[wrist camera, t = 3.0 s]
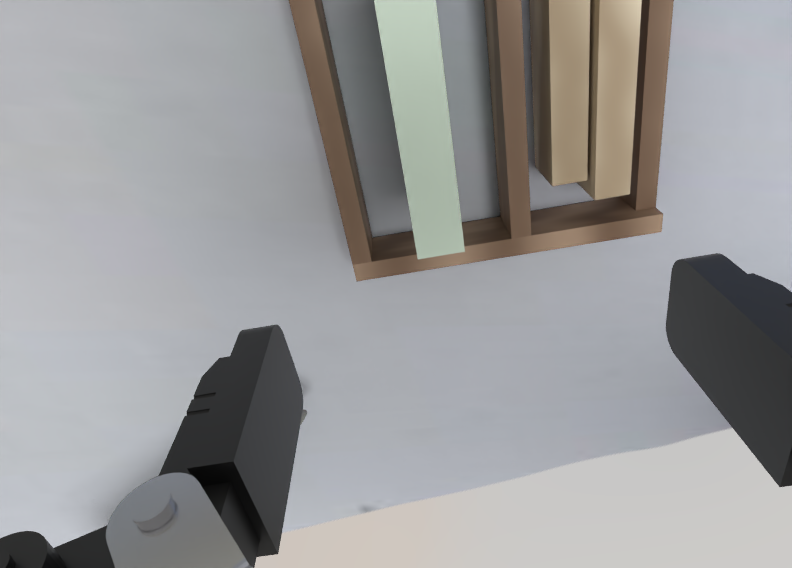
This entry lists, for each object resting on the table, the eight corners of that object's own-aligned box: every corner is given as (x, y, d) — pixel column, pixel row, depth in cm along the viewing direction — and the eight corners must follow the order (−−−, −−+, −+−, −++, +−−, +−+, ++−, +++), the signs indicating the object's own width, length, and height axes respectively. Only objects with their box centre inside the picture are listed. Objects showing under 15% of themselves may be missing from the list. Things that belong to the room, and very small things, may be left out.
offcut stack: (607, -70, 27) (646, -78, 23) (600, 169, 34) (629, 194, 30) (526, -55, 27) (552, -60, 24) (535, 180, 34) (556, 206, 30)
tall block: (418, -22, 28) (433, -21, 20) (445, 189, 34) (464, 251, 26) (373, -13, 28) (372, -9, 20) (408, 195, 34) (417, 259, 26)
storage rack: (662, -159, 25) (700, -178, 22) (637, 209, 35) (661, 231, 32) (280, -80, 26) (267, -88, 23) (358, 255, 36) (356, 281, 33)
